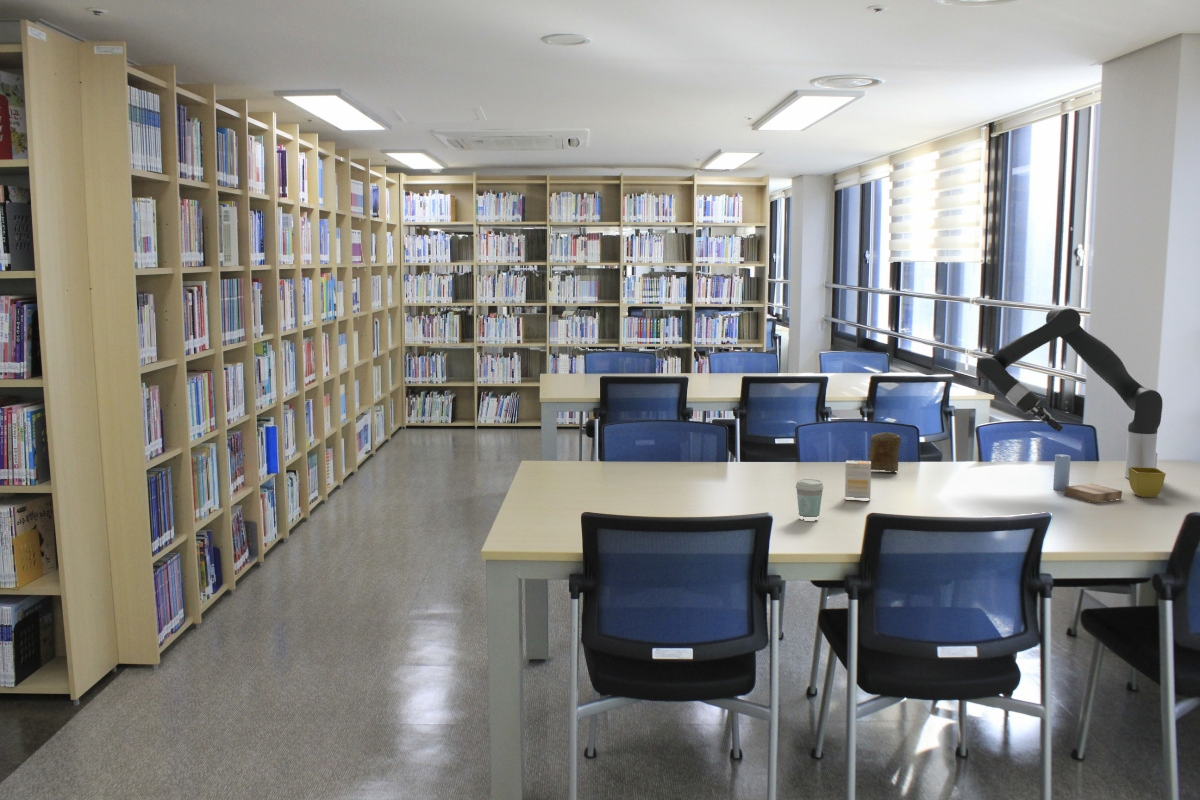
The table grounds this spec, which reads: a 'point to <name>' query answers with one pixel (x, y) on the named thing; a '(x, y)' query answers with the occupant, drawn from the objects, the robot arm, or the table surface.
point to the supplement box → (858, 479)
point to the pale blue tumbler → (1061, 472)
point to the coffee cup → (809, 497)
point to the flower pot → (1146, 481)
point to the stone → (884, 451)
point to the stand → (1092, 493)
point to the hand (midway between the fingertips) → (1059, 429)
